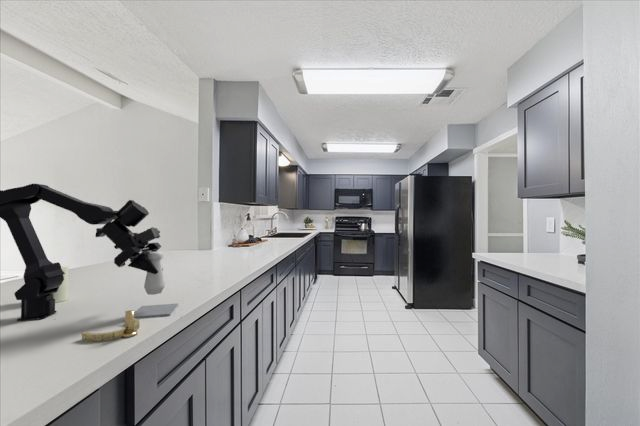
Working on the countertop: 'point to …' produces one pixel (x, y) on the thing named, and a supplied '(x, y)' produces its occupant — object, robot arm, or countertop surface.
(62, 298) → the can
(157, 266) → the salt shaker
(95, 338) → the gold curved piece
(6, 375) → the countertop surface
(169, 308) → the coaster
